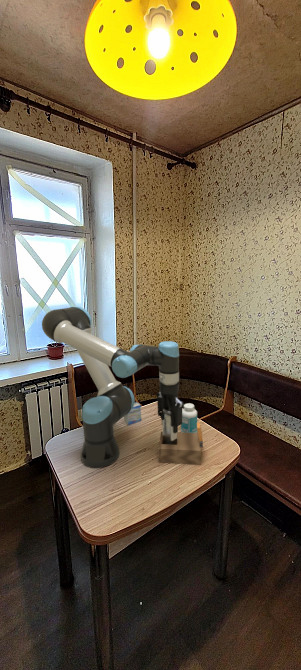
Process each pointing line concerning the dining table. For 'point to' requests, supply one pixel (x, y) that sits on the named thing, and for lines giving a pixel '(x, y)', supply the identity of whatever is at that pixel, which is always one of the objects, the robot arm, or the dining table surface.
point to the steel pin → (168, 426)
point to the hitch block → (181, 449)
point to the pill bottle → (189, 419)
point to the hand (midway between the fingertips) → (169, 436)
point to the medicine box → (133, 414)
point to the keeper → (199, 431)
